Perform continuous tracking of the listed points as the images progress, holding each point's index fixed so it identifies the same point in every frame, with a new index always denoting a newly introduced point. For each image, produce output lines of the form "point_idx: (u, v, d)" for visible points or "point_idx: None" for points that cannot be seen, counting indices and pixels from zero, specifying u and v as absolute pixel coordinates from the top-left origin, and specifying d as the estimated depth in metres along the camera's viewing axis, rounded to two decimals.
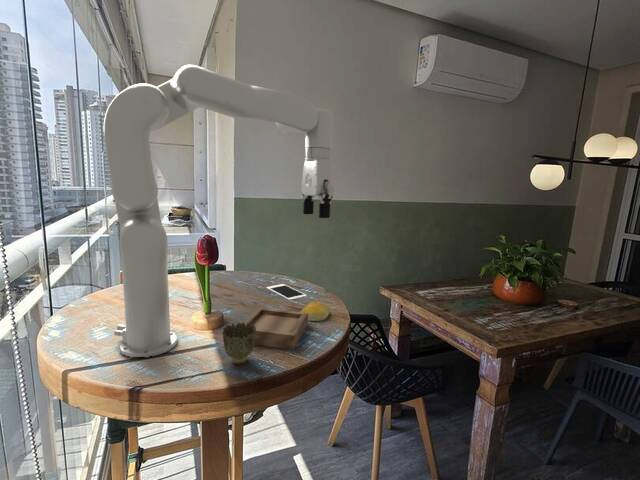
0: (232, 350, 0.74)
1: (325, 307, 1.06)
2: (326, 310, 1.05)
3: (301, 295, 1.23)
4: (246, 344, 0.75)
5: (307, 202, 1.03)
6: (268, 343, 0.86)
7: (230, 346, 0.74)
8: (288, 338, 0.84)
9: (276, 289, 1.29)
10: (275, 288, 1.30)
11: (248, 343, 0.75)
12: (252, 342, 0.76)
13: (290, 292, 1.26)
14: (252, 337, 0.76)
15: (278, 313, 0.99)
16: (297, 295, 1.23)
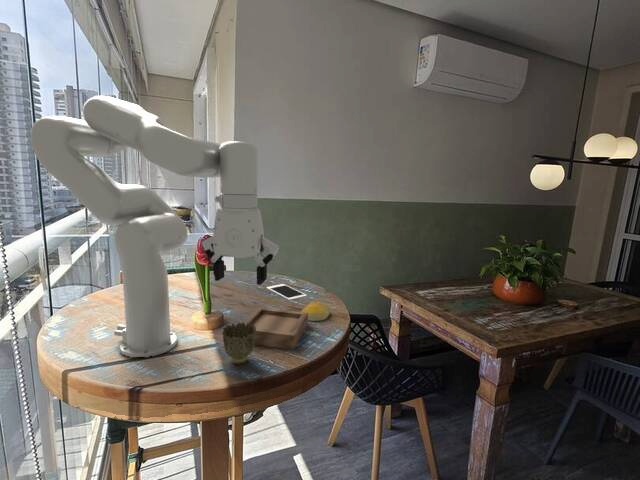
0: (232, 350, 0.74)
1: (325, 307, 1.06)
2: (326, 310, 1.06)
3: (301, 295, 1.23)
4: (246, 344, 0.75)
5: (219, 264, 0.75)
6: (268, 343, 0.86)
7: (230, 346, 0.74)
8: (288, 338, 0.84)
9: (276, 289, 1.29)
10: (275, 288, 1.30)
11: (248, 343, 0.75)
12: (252, 342, 0.76)
13: (290, 292, 1.26)
14: (252, 337, 0.76)
15: (278, 313, 0.99)
16: (297, 295, 1.23)
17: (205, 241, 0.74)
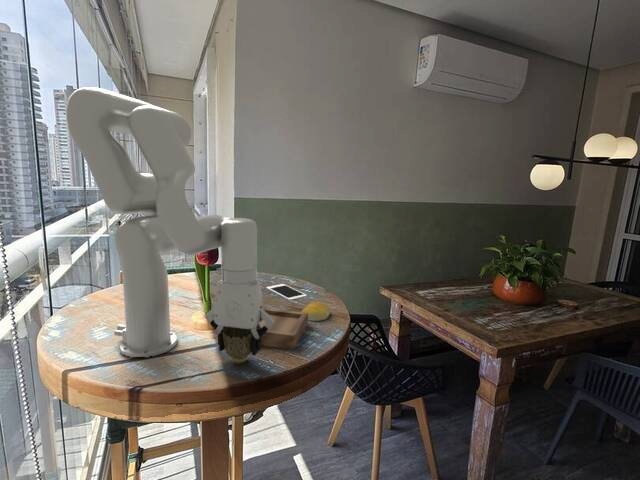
0: (232, 350, 0.74)
1: (326, 307, 1.06)
2: (327, 310, 1.06)
3: (301, 295, 1.23)
4: (246, 344, 0.75)
5: None
6: (268, 343, 0.86)
7: (230, 346, 0.74)
8: (288, 338, 0.84)
9: (276, 289, 1.29)
10: (275, 288, 1.30)
11: (248, 343, 0.75)
12: None
13: (290, 292, 1.26)
14: (252, 337, 0.76)
15: (278, 313, 0.99)
16: (297, 295, 1.23)
17: (208, 313, 0.77)
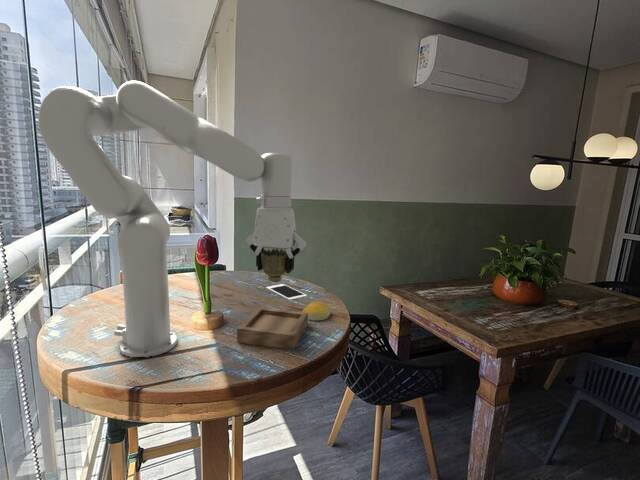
0: (270, 267, 0.86)
1: (326, 307, 1.07)
2: (327, 310, 1.06)
3: (301, 295, 1.23)
4: (281, 263, 0.87)
5: None
6: (269, 343, 0.86)
7: (268, 264, 0.86)
8: (288, 338, 0.84)
9: (276, 289, 1.29)
10: (275, 288, 1.30)
11: (283, 262, 0.87)
12: None
13: (290, 292, 1.26)
14: (286, 257, 0.88)
15: (278, 313, 0.99)
16: (297, 295, 1.23)
17: (248, 238, 0.89)
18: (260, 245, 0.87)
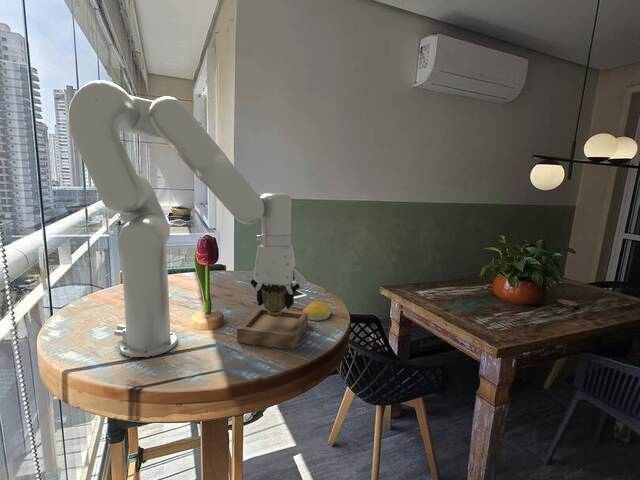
0: (270, 303, 0.88)
1: (327, 306, 1.07)
2: (328, 309, 1.06)
3: (301, 295, 1.23)
4: (282, 299, 0.89)
5: None
6: (269, 343, 0.86)
7: (269, 300, 0.88)
8: (288, 338, 0.84)
9: None
10: None
11: (283, 298, 0.89)
12: None
13: None
14: (286, 293, 0.90)
15: None
16: (297, 295, 1.23)
17: (249, 274, 0.91)
18: (260, 282, 0.89)
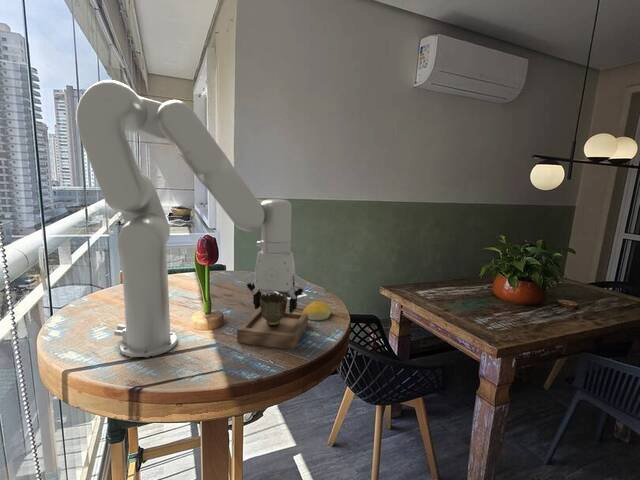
0: (268, 313, 0.89)
1: (327, 306, 1.07)
2: (328, 309, 1.06)
3: (301, 295, 1.23)
4: (280, 309, 0.89)
5: (258, 295, 0.92)
6: (269, 344, 0.86)
7: (267, 310, 0.89)
8: (288, 339, 0.85)
9: None
10: None
11: (281, 308, 0.90)
12: (284, 308, 0.91)
13: None
14: (285, 303, 0.90)
15: None
16: None
17: (247, 277, 0.92)
18: (260, 288, 0.89)
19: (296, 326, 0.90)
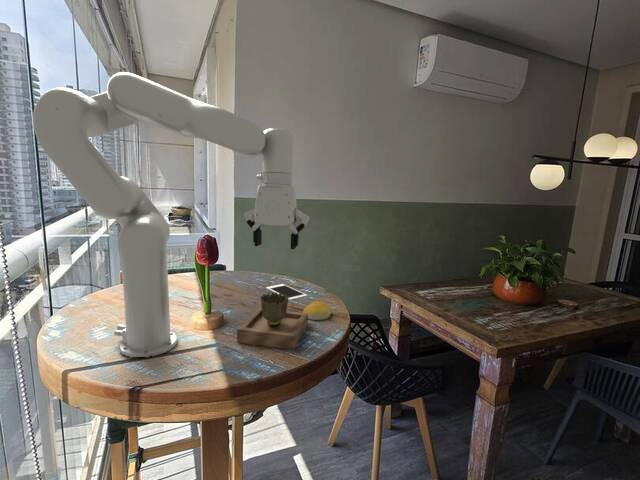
0: (270, 313, 0.89)
1: (327, 306, 1.07)
2: (328, 309, 1.06)
3: (301, 295, 1.23)
4: (281, 309, 0.89)
5: (258, 232, 0.89)
6: (269, 344, 0.86)
7: (268, 310, 0.89)
8: (288, 339, 0.85)
9: (276, 289, 1.29)
10: (275, 288, 1.30)
11: (283, 308, 0.90)
12: (285, 308, 0.91)
13: (290, 292, 1.26)
14: (286, 303, 0.90)
15: None
16: (297, 295, 1.23)
17: (247, 213, 0.88)
18: (261, 222, 0.86)
19: (296, 326, 0.90)
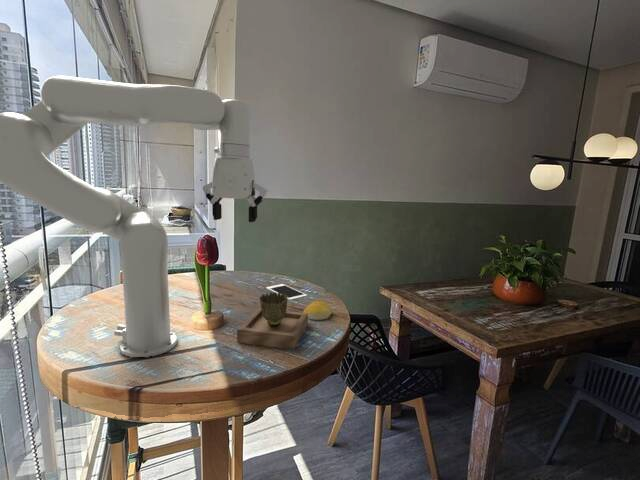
0: (270, 314, 0.89)
1: (327, 306, 1.07)
2: (328, 309, 1.06)
3: (301, 295, 1.23)
4: (281, 309, 0.89)
5: (217, 206, 0.89)
6: (269, 344, 0.86)
7: (268, 311, 0.89)
8: (288, 339, 0.85)
9: (276, 289, 1.29)
10: (275, 288, 1.30)
11: (282, 308, 0.90)
12: (285, 307, 0.91)
13: (290, 292, 1.26)
14: (285, 303, 0.90)
15: None
16: (297, 295, 1.23)
17: (205, 186, 0.88)
18: (218, 195, 0.86)
19: (296, 326, 0.90)
